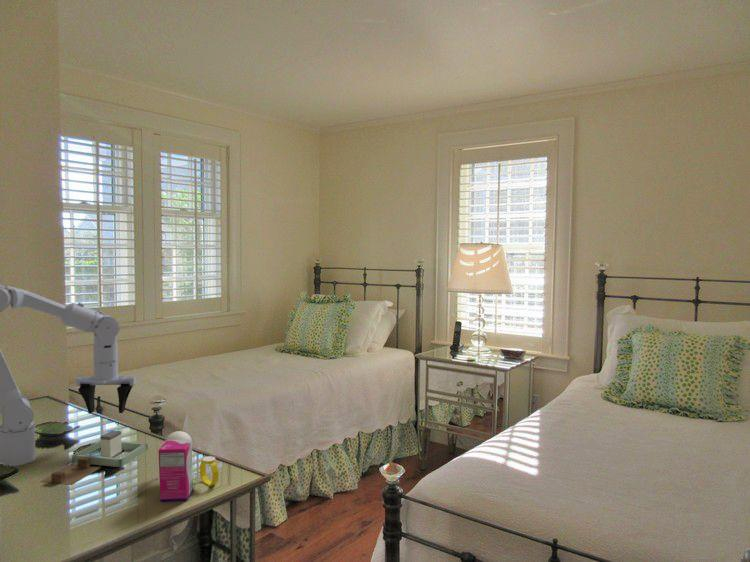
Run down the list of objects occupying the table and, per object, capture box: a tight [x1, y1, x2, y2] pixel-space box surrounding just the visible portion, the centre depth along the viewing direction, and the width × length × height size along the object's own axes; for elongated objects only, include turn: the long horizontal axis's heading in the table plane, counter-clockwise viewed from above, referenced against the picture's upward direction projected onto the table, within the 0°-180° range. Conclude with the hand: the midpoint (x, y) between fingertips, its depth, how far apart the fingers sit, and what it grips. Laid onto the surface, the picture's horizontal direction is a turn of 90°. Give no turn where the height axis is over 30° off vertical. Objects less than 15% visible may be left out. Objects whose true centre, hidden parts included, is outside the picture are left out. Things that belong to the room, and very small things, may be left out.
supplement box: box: [157, 438, 194, 503], centre depth 120 cm, size 6×6×12 cm
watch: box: [199, 456, 219, 487], centre depth 126 cm, size 6×3×6 cm, turn 47°
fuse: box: [100, 430, 123, 458], centre depth 139 cm, size 3×4×6 cm, turn 171°
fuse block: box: [39, 457, 102, 486], centre depth 128 cm, size 8×10×3 cm
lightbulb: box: [164, 430, 193, 442], centre depth 128 cm, size 6×6×11 cm
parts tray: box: [71, 439, 149, 468], centre depth 139 cm, size 13×11×2 cm
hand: (106, 412), depth 146 cm, fingers open, 7 cm apart
